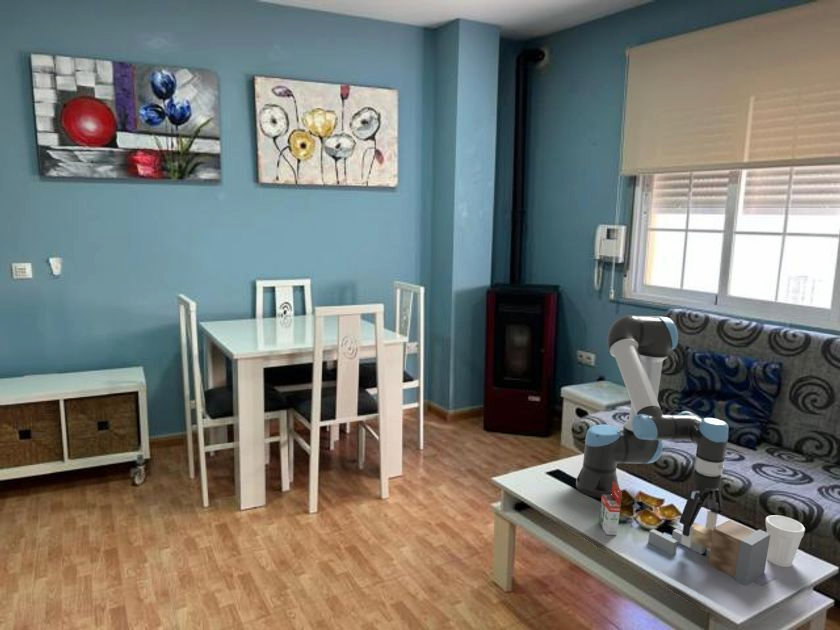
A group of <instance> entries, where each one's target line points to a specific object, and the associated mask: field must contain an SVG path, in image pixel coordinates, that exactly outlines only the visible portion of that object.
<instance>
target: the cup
mask: <svg viewBox="0 0 840 630" xmlns="http://www.w3.org/2000/svg"><path fill="white" fill-rule="evenodd" d="M765 528H766V532H767V533H769V534H771V535H770V541H769V547H768V553H767V559H766V561H768V562H770V563H771V564H773V565H774V566H778V567H781V568H791V567H792V565H793V562H794V560H795V558H796V554H797V551H798V549H799V546H800V545H801V542H802V538H803V537H804V534H805V531H806V528H805V527H804V524H802V523H801V522H799V521H798V520H796V519H794V518H791V517H788V516H784V515H779V514H775V515H771V514H770V515H768V516H766V517H765Z"/></svg>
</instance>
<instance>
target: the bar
mask: <svg viewBox="0 0 840 630" xmlns="http://www.w3.org/2000/svg"><path fill="white" fill-rule="evenodd" d="M693 526H694V529H693V535H692V541H693V542H695V543H697V544H699V545H701V546H704V547H706V548H705V549H708V550H711V543H712V536H713V530H711V529H709V528H706V527H705V526H703V525H701V524H699V523H696V522H695V521H694V523H693Z"/></svg>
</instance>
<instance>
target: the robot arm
mask: <svg viewBox="0 0 840 630" xmlns="http://www.w3.org/2000/svg"><path fill="white" fill-rule="evenodd" d="M606 339H607V340H606V341H607V342H606V343H607V347H608V351H609V354H610V356H612V357H613V358H615V361H616V364H617V366H618V369H619V371H620V374H621V377H622V380H623V382H624V385H625V389H626V391H627V393H628V395H629V399H630V408H629V409H630V410H629V415H628V416H629V417H628V419H627V421H625V422H624V423H623V429H622V430H621V429H620V428H619V427H618V426H616V425H612V424H610V425H609V424H596V425H593V426H590V427H589V428H588V429H587V431H586V435H585V439H584V442H585V443H584V450H583V461H582V466H581V470H580V471H579V473H578V476H577V477H576V479H575V480H576V481H575V487H576V489H577V490H578V491H579V492H581V493H582V494H584V495H586V496H590V497H593V498H597V499H601V498H602V495H611V494H612V486H613V481H614V482H615V484H616V485H617V486H618V488H619V489H620V485H619V480H618V476H617V467H618V466H617V465H618V464H641V465H645V464H652V463H655V462H657V461H658V460H659V459H660V458H661V455H662V451H663V447H664V446H663V445H664V444H663V440H665V441H666V440H667V441H690V442H692V443H693V444H694V445H696V452H695V457H694V459H695V460H694V465H693V468H694V469H693V473H692V482H693V483H694V485H695V486H696V488H695V490H694V491H693V490H689V492H688V497H687V500H686V502H685V505H684V508H683V511H682V514H681V515H680V518H679V524H680V525H682V538H681V543H682V544H684V545H686V546H688V547H691V542H692V535H693V529H694V526H693V523H694V522H695V521H696V519H697V516H698V515H699V512H700V511H701V509H702V508H704V507H705V505H706V503H707V506H708V508H709V509H708V510H707V514H706V521H705V526H704V527H706V528H709V529H711V530H714V528H715V527H717V521H718V516H719V515H721V514H722V513H723V508H724V506H723V505H724V504H723V498H722V497H723V496H722V491H721V489H722V487H721V486H722V474H723V470H724V469H725V466H724V464H725V458H726V451H727V446H728V440H729V424H728V423H727V422H726V421H724V420H721V419H718V418H716V417H715V418H713V417H705V418H702V417H700V416H699V415H698V414H695V413H694V412H691V411H688V410H685V411H681V412H679V413H677V414H664V413H663V411H662V409H661V406H660V404H659V401H658V397H659V390H660V383H661V377H662V376H661V375H662V369H663V368H662V367H663V363H664V360H666V359H667V358H669V354H670V353H669V352H670V351H673V350H675V349H676V347H677V346H678V342H679V333H678V328H677V326H676V324H675V322H674V321H673V320H672V319H671V318H669V317H667V316H666V317H665V316H658V315H633V314H632V315H631V314H629V315H624V316H622V317H618V319H617V320H615V321H614V322H613V324H612V325H611V326H610V327H609V330H608V334H607V338H606ZM616 489H617V488H616ZM617 491H618V489H617ZM718 514H719V515H718ZM684 545H683V546H684ZM686 546H685V547H686ZM688 547H687V548H688Z"/></svg>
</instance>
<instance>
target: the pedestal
mask: <svg viewBox="0 0 840 630" xmlns="http://www.w3.org/2000/svg"><path fill="white" fill-rule="evenodd" d="M648 533H649V534H648V540H647V541H648V542H647V543H649V544H650V545H652V546H654V547H656V548H658V549H660V550H662V551H664V552H666V553H668V554H670V555H671V556H674V555H675V554H676V553H677V551H678V549H677V548H678V544H679V543H678V541H677V540H675V539H673V538H672V536H668V535H666V534H664V533H663V532H660V531H659V530H656V529H654V528H652V529H651V530H650V529H649V532H648Z"/></svg>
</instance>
